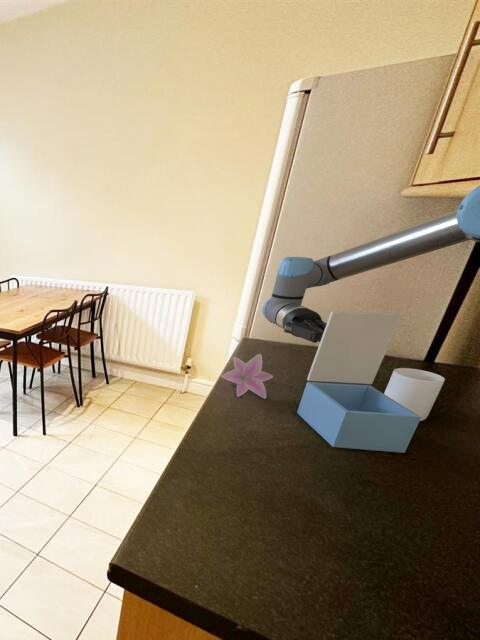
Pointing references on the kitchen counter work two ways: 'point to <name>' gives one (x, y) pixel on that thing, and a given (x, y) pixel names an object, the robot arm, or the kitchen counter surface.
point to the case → (357, 417)
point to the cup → (414, 389)
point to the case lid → (353, 346)
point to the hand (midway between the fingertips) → (349, 348)
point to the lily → (248, 376)
